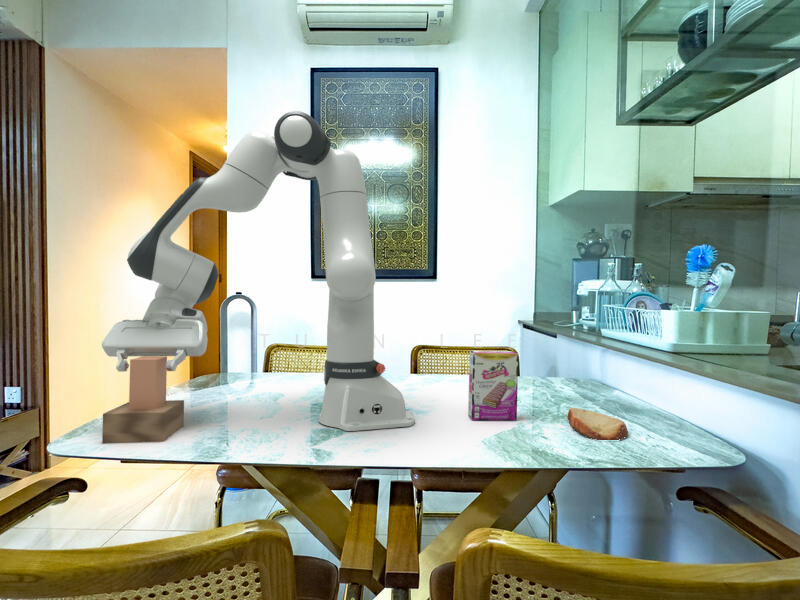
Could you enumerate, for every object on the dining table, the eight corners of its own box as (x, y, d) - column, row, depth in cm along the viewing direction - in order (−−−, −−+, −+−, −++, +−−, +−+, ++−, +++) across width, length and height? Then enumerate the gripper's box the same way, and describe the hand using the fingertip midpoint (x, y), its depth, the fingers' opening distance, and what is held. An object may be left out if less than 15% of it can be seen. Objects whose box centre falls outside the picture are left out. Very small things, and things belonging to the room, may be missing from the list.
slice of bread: (576, 414, 111) (576, 400, 111) (650, 431, 96) (650, 414, 96) (533, 425, 100) (533, 409, 100) (610, 446, 85) (610, 427, 85)
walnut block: (183, 427, 95) (184, 400, 95) (163, 443, 84) (163, 412, 84) (129, 428, 93) (130, 401, 93) (102, 445, 82) (102, 413, 82)
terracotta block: (165, 403, 91) (166, 356, 92) (155, 409, 86) (156, 359, 87) (141, 403, 91) (142, 356, 91) (128, 409, 86) (130, 359, 86)
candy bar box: (472, 421, 102) (472, 352, 102) (467, 415, 107) (468, 350, 107) (518, 421, 102) (519, 352, 102) (512, 416, 107) (512, 350, 107)
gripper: (111, 310, 94) (84, 360, 84) (209, 311, 97) (193, 359, 87) (121, 329, 99) (96, 379, 89) (214, 329, 101) (200, 378, 91)
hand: (145, 369), depth 88 cm, fingers open, 8 cm apart
